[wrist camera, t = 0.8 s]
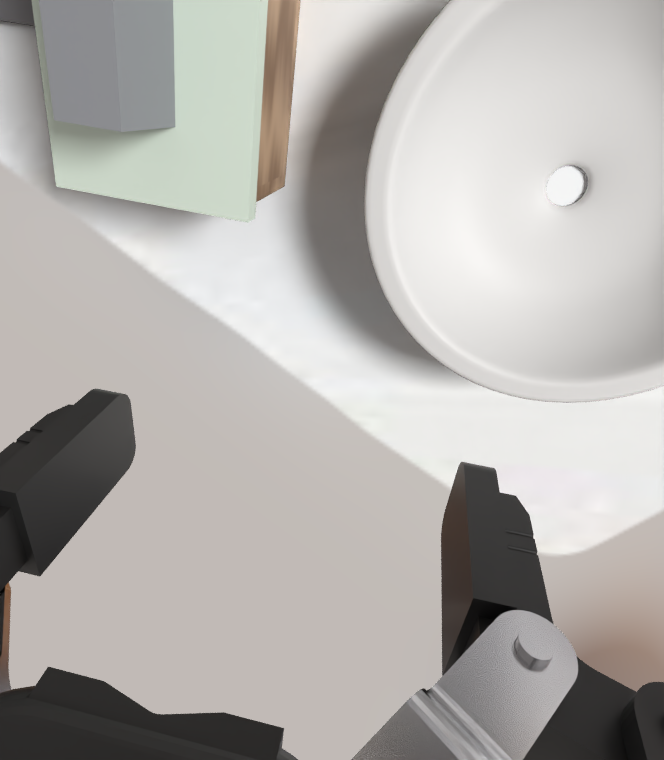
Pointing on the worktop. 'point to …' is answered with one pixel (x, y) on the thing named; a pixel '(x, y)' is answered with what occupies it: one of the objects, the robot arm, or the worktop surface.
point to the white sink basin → (527, 196)
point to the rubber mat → (17, 11)
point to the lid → (156, 99)
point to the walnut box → (277, 94)
